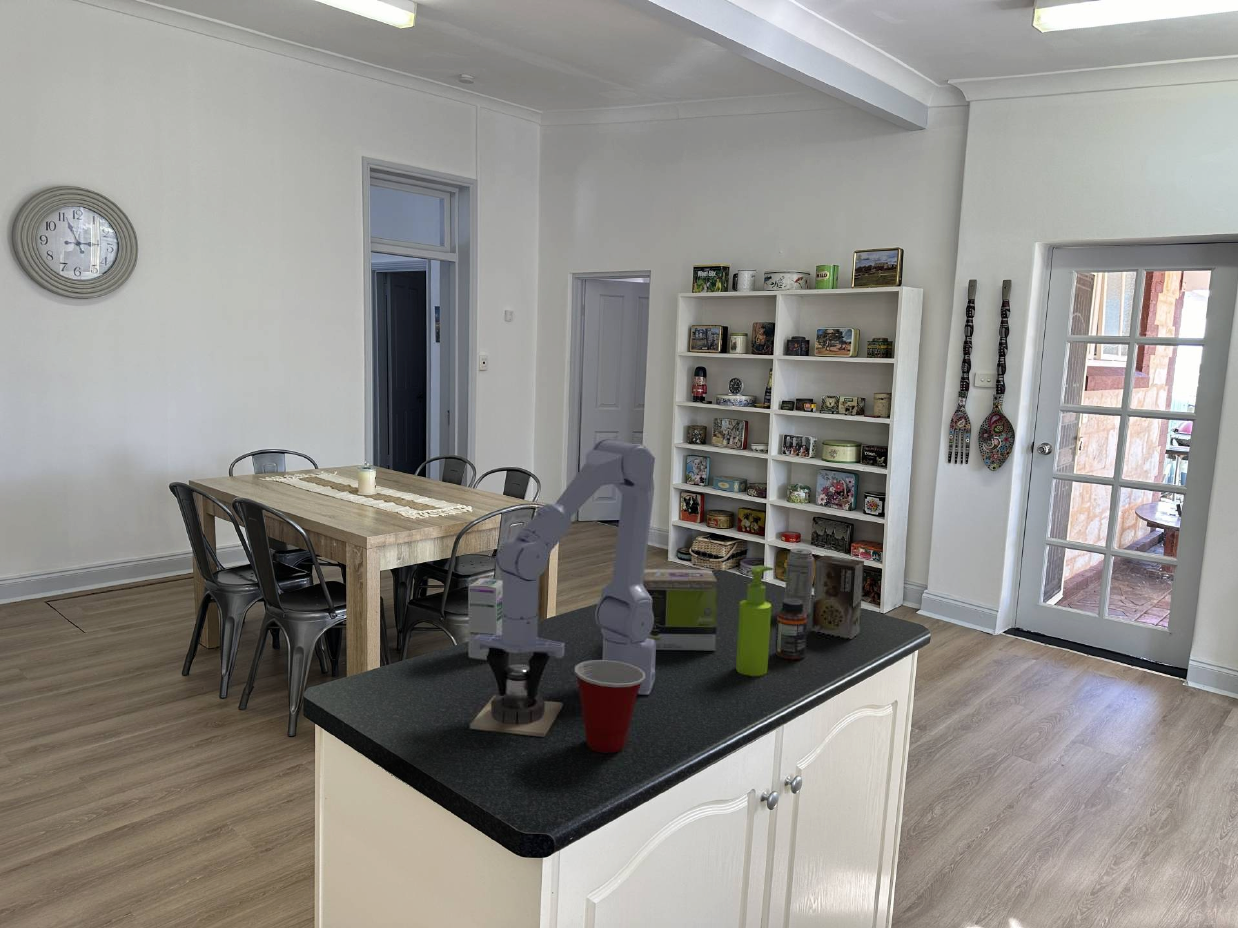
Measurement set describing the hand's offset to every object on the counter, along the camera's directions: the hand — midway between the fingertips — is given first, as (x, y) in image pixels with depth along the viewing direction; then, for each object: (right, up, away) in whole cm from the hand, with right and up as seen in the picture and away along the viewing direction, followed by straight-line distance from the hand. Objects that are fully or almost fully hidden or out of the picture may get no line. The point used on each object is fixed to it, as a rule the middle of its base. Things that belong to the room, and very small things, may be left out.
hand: (518, 695), depth 143 cm
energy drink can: (+58, +2, +62) cm, 85 cm away
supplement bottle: (+51, -1, +34) cm, 61 cm away
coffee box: (+64, 0, +50) cm, 81 cm away
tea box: (+28, 0, +39) cm, 48 cm away
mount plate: (0, -4, 0) cm, 4 cm away
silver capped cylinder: (0, -2, 0) cm, 2 cm away
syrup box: (-9, 0, +28) cm, 30 cm away
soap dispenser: (+42, -2, +25) cm, 49 cm away
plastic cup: (+15, -6, -8) cm, 18 cm away
